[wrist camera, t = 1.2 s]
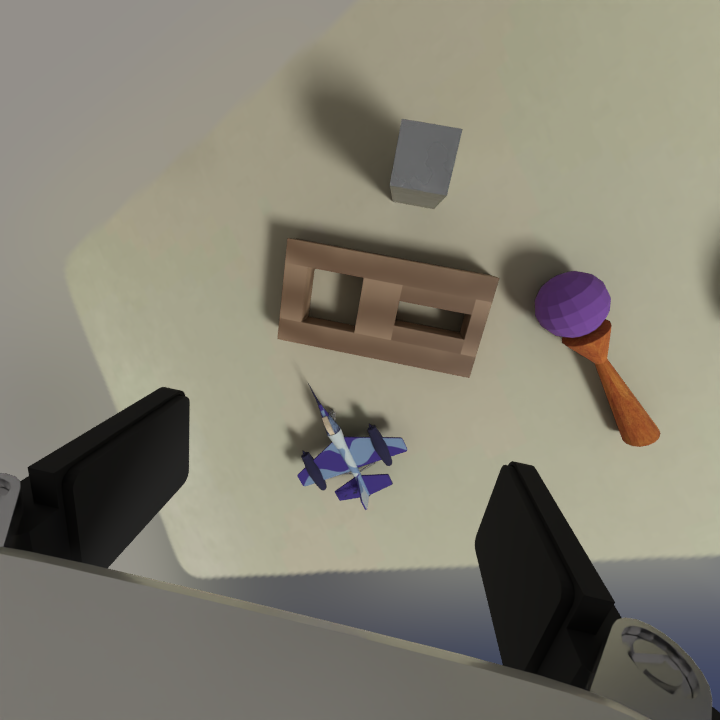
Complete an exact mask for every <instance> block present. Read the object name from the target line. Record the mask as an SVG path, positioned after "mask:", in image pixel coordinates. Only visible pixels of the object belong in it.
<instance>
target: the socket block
mask: <svg viewBox="0 0 720 720" xmlns="http://www.w3.org/2000/svg"><path fill="white" fill-rule="evenodd" d="M315 269H321V270H326V271H331V272H336V273H341V274H347V275H352V276H357V277H362V278H364V280H363V286H362V291H361V297H360V303H359V308H358V314H357V320H356V325H355V326H354V325H349V324H344V323H339V322H334V321H329V320H324V319H319V318H314V317H309V309H310V301H311V293H312V285H313V277H314V270H315ZM498 281H499V278H497V277H495V276H492V275H487V274H481V273H476V272H471V271H465V270H460V269H455V268H449V267H444V266H439V265H434V264H428V263H423V262H418V261H412V260H407V259H402V258H396V257H391V256H386V255H380V254H375V253H370V252H364V251H359V250H354V249H349V248H343V247H338V246H333V245H327V244H322V243H317V242H311V241H306V240H301V239H292V238H288V239H287V249H286V259H285V269H284V279H283V289H282V299H281V309H280V319H279V329H278V339H280V340H285V341H290V342H295V343H300V344H305V345H310V346H315V347H320V348H325V349H330V350H335V351H339V352H344V353H349V354H354V355H359V356H364V357H369V358H374V359H379V360H384V361H389V362H394V363H398V364H403V365H408V366H413V367H418V368H423V369H428V370H433V371H438V372H443V373H448V374H453V375H457V376H462V377H467V378H469V377H470V374H471V370H472V367H473V364H474V360H475V357H476V354H477V351H478V347H479V344H480V341H481V337H482V334H483V331H484V327H485V324H486V321H487V318H488V314H489V311H490V308H491V304H492V301H493V298H494V294H495V291H496V288H497V285H498ZM399 301H403V302H408V303H413V304H418V305H423V306H429V307H434V308H439V309H444V310H449V311H454V312H459V313H465V315H464V319H463V322H462V326H461V330H460V332H455V331H450V330H445V329H440V328H435V327H430V326H425V325H420V324H415V323H410V322H405V321H400V320H395V319H396V314H397V309H398V305H399Z"/></svg>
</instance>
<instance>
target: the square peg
mask: <svg viewBox="0 0 720 720" xmlns="http://www.w3.org/2000/svg"><path fill="white" fill-rule="evenodd" d="M461 133H462V129H459V128H453V127H447V126H441V125H435V124H429V123H424V122H418V121H412V120H406V119H402V121H401V126H400V132H399V137H398V143H397V148H396V154H395V159H394V165H393V170H392V175H391V181H390V190H391V194H392V199H393V202H398V203H403V204H409V205H414V206H420V207H425V208H431V209H435V208H436V206H437V205H438V204H439V203H440V202H441V201H442V200H443V199H444V198H445V197H446V196H447V192H448V188H449V184H450V180H451V175H452V171H453V167H454V163H455V158H456V154H457V150H458V146H459V141H460V137H461Z"/></svg>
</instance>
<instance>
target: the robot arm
mask: <svg viewBox="0 0 720 720" xmlns="http://www.w3.org/2000/svg"><path fill="white" fill-rule="evenodd" d="M189 406H190V402H189V398H188V397H185V394H184V392H183V391H180V390H175V389H171V388H166V387H161V388H159V389H157V390H156V391H154V392H152V393H151V394H149V395H147V396H146V397H144V398H142V399H141V400H139V401H137V402H136V403H134V404H132V405H131V406H129V407H127V408H126V409H124V410H122V411H121V412H119V413H117V414H116V415H114V416H112V417H111V418H109V419H108V420H106V421H104V422H102V423H101V424H99V425H97V426H96V427H94V428H92V429H91V430H89V431H87V432H86V433H84V434H82V435H81V436H79V437H78V438H76V439H74V440H72V441H71V442H69V443H67V444H66V445H64V446H63V447H61V448H59V449H57V450H56V451H54V452H52V453H51V454H49V455H47V456H46V457H44V458H42V459H41V460H39V461H38V462H36V463H34V464H32V465H31V466H29V467H28V472H29V476H28V477H26V478H25V479H24V480H22V481H20V480H19V479H17V477H15V476H13V475H10V474H6V473H0V720H720V713H719V712H718V711H717V710H716V709H715V708H713V707H712V696H711V691H710V686H709V684H708V682H707V681H706V679H705V677H704V675H703V673H702V671H701V670H700V669H699V668H698V666H697V665H696V664H695V662H694V661H693V660H692V658H691V657H690V656H689V655H688V654H687V653H686V652H685V651H684V650H683V649H682V648H681V647H680V646H679V645H678V644H677V643H675V642H674V641H673V640H671V639H670V638H669V637H668V636H666V635H665V634H664V633H662V632H661V631H659V630H657V629H656V628H654V627H652V626H651V625H649V624H646V623H644V622H642V621H639V620H637V619H631V618H621V616H620V614H619V613H618V611H617V609H616V608H615V606H614V603H615V602H614V600H613V598H612V596H611V595H610V593H609V591H608V590H607V588H606V586H605V585H604V583H603V582H602V580H601V578H600V576H599V575H598V573H597V572H596V569H595V568H594V566H593V564H592V563H591V561H590V559H589V558H588V556H587V554H586V553H585V551H584V549H583V548H582V546H581V544H580V543H579V541H578V539H577V537H576V536H575V534H574V532H573V531H572V529H571V527H570V526H569V524H568V522H567V521H566V519H565V517H564V516H563V514H562V512H561V511H560V509H559V507H558V506H557V504H556V502H555V501H554V499H553V497H552V495H551V494H550V492H549V490H548V489H547V487H546V485H545V484H544V482H543V480H542V479H541V477H540V475H539V474H538V472H537V470H536V469H535V467H534V466H532V465H527V464H523V463H518V462H513V461H512V462H510V463H509V465H508V466H507V465H503V466H502V468H501V470H500V473H499V476H498V478H497V481H496V484H495V486H494V489H493V492H492V494H491V497H490V500H489V503H488V505H487V508H486V511H485V513H484V516H483V519H482V522H481V524H480V527H479V530H478V532H477V535H476V539H475V551H476V555H477V559H478V563H479V568H480V571H481V576H482V580H483V584H484V588H485V592H486V596H487V601H488V605H489V609H490V613H491V617H492V622H493V626H494V630H495V634H496V638H497V642H498V646H499V651H500V655H501V659H502V663H503V665H499V664H495V663H492V662H488V661H484V660H480V659H477V658H473V657H469V656H466V655H462V654H457V653H454V652H449V651H446V650H442V649H438V648H434V647H430V646H426V645H421V644H418V643H413V642H410V641H406V640H401V639H397V638H393V637H389V636H385V635H381V634H377V633H373V632H369V631H365V630H361V629H357V628H353V627H349V626H345V625H341V624H337V623H333V622H328V621H325V620H321V619H317V618H312V617H308V616H304V615H300V614H296V613H292V612H287V611H284V610H279V609H275V608H271V607H267V606H263V605H259V604H254V603H250V602H246V601H242V600H238V599H234V598H229V597H225V596H221V595H217V594H213V593H209V592H205V591H201V590H196V589H192V588H187V587H183V586H179V585H175V584H171V583H166V582H162V581H158V580H154V579H150V578H145V577H141V576H137V575H133V574H128V573H124V572H120V571H115V570H111V569H107V568H108V567H109V566H110V565H111V564H112V563H113V562H114V561H115V559H116V558H117V557H118V556H119V555H120V554H121V553H122V552H123V550H124V549H125V548H126V547H127V546H128V545H129V544H130V543H131V542H132V541H133V539H134V538H135V537H136V536H137V535H138V534H139V533H140V532H141V531H142V530H143V528H144V527H145V526H146V525H147V524H148V523H149V522H150V521H151V520H152V518H153V517H154V516H155V515H156V514H157V513H158V512H159V511H160V510H161V509H162V507H163V506H164V505H165V504H166V503H167V502H168V501H169V500H170V499H171V497H172V496H173V495H174V494H175V493H176V492H177V491H178V490H179V489H180V488H181V486H182V485H183V484H184V483H185V481H186V479H187V477H188V473H189Z"/></svg>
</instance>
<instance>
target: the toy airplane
mask: <svg viewBox="0 0 720 720" xmlns="http://www.w3.org/2000/svg"><path fill="white" fill-rule="evenodd" d="M309 386H310V385H309ZM310 388H311V387H310ZM311 390H312V389H311ZM312 393H313V395H314V397H315V399H316V401H317V403H318V406H319V409H320V412H321V415H322V419H323V422H324V425H325V429H326V432H327V435H328V437H329V438H330V440H331V441H332V443H331V444H330V445H329V446H328V447H326V448H325V449H324V450H323V451H322V452H321V453H320V454H319V455H318V456H317V457H316V458H315V459H313V457H312V456H311V455H310V453H309V452H304V451H303V455H302V456H301V457H302V459H303V462H304V464H305V468H304V469H303V470H302V471H301V472H300V473H299V474H298V478H299V480H300V481H301V483H302V485H303V486H308V485H311V484H314V483H315V484H316V485H317V486H318V487H319V488H320V489H321V490H325V489H326V487H327V486H326V482H325V479H328V478H331V477H334V476H337V475H340V474H353V476H354V478H353V479H351V480H350V481H349V482H347V483H346V484H344V485H343V486H342V487H340V488H339V489H337V490H336V491H335V493H336V495H337V497H338V498H339V500H340V501H341V500H347V499H353V498H359V497H360V499H361V503H362V505H363V506H364V508H365V510H367V506H368V499H369V496H370V495H371V494H373V493H375V492H377V491H379V490H381V489H383V488H386V487H388V486H390V485H392V484H393V483H392V481H391V479H390V477H389V475H388V474H377V475H361V473H360V472H361V471H363V470H365V469H366V468H368V467H369V466H371V465H373V464H375V462H376V461H379V460H382V461H383V462H384V463H385V464H386V465H387V466H390V465H391V464H392V459H391V456H394V455H397V454H400V453H403V452H406V451H407V447H406V445H405V443H404V441H403V439H402V438H400V437H382V435H381V434H380V432H379V431H378V429H377V428H376V426H375V425H371V424H369V427H368V429H367V431H368V433H369V436H370V437H345V436H344V435H343V433H342V430H341V428H340V427H339V425H338V424H337V423H336V422H335V415H336V412H334V411H333V410H332V409H330V410H329V414H328V412H327V411H326V410H325V409H324V408H323V406H322V405H321V403H320V402H319V401H318V399H317V398H316V396H315V394H314V392H313V391H312ZM333 418H334V419H333ZM370 463H372V464H370ZM367 464H370V465H368V466H367V467H365V468H363V469H362V470H360V471H359V469H358V467H361V466H364V465H367ZM349 471H351V472H352V473H347V472H349Z"/></svg>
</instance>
